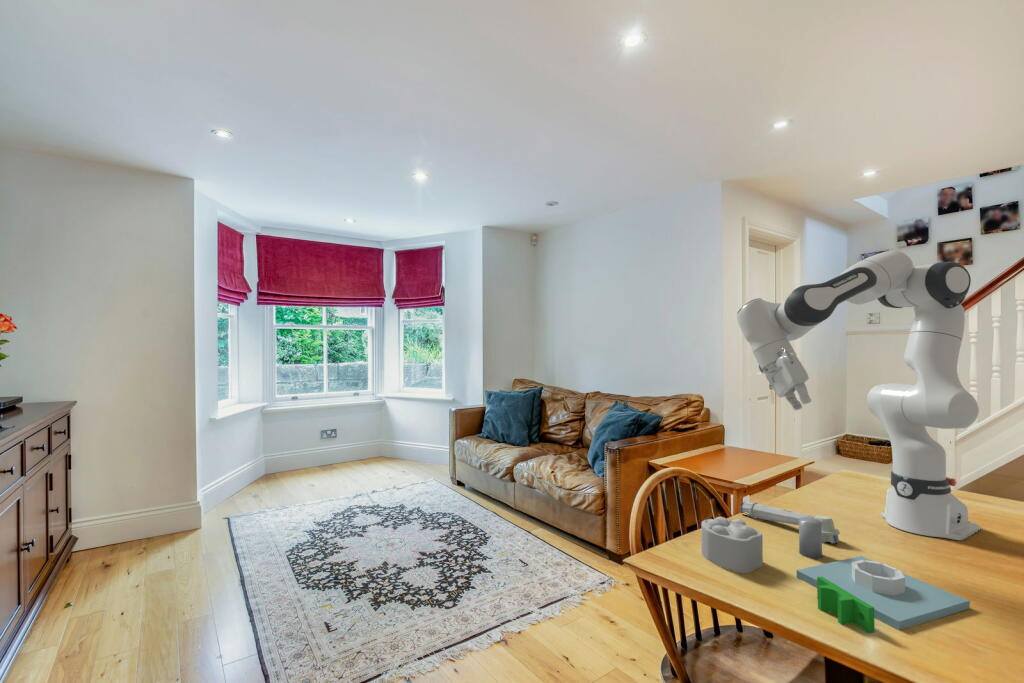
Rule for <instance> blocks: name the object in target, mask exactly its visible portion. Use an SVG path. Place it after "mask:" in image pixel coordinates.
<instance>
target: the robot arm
mask: <svg viewBox="0 0 1024 683" xmlns="http://www.w3.org/2000/svg"><path fill="white" fill-rule="evenodd" d="M971 281H972V279H971V274H970V272H969V271H968V269H967V268H966V267H965V266H964V265H962V264H961V263H959V262H955V261H938V262H935V263H931V264H930V263H929V264H928V263H927V264H921V265H917V266H914V264H913V261H912V259H911V257H910V256H908V254H906V253H904V252H902V251H899V250H886V251H884V252H879V253H876V254H873V255H871V256H869V257H866V258H864V259H861V260H860V261H858V262H856V263H854V264H852V265H851V266H849V267H848V268H846V269H845V270H843V271H842V272H841V273H840V274H839V275H838V276H836V277H833V278H831V279H829V280H827V281H825V282H821V283H812V284H804V285H801V286H799V287H796V288H795V289H794V290H792V292H791V293H790V294H789V295H788V297H787V298H786V299H785V300H784V301H783V302H781V303H778V302H770V301H766V300H764V299H763V298H762V297H756V298H753V299H752V300H750V301H748V302H747V303H745V304H744V305H742V307H740V309H739V310H738V311H737V313H736V319H737V322H738V326H739V328H740V330H741V333H742V334H743V337H744V338H745V340H746V341H747V343H748V344H749V345H750V346H751V351H752V353H753V356H754V358H755V360H756V362H757V364H758V369H759V371H760V373H761V374H763V375H765V378H766V379H767V381H768V383H769V385H770V386H771V388H772V390H773V391H774V392H775V394H776V395H777V397H778V398H785V399H786V401H787V402H788V403H789V404H790V405H791V407H792V409H793V410H794V411H799V410H801V409H803V405H807V404H810V403H811V402H812V399H811V396H810V395H809V391H808V389H807V386H806V384H805V383H806V382H807V381H808V380H809V379H810V377H809V373H808V372H807V370H806V368H805V367H804V366H803V364H802V362H801V361H800V359H799V357H798V356H797V352H796V351H795V349H794V347H793V346H792V344H791V342H790V341H795V340H799V339H800V338H802V337H804V336H805V335H806V334H808V333H809V332H810V331H811V330H812V329H814V328H816V326H818V325H819V324H821V323H822V322H824V321H825V320H828V319H829V317H831V316H832V314H833V313H834V311H835V310H836V308H837V306H838V305H840V304H842V303H844V302H846V301H847V302H848V303H851V304H853V305H854V304H855V305H864V304H867V303H871V302H873V301H875V300H877V301H879V303H880V304H881V305H882V306H884V307H886V308H891V309H892V308H893V309H902V308H903V309H904V308H913V309H914V310H913V311H914V314H915V316H914V318H913V321H912V324H911V326H910V331H909V334H908V338H907V341H906V345H905V350H904V353H903V361H904V363H905V364H906V366H908V368H909V369H911V370H913V371H915V374H916V378H917V382H916V384H913V383H912V384H911V383H901V382H891V383H890V382H889V383H882V384H877V385H875V386H872V387H871V389H870V390H869V391H868V393H867V397H866V404H867V408H868V410H869V411H870V412H871V413H872V414H873V415H874V416H875V417H876V418H877V419H878V420H879V422H881V424H882V425H883V427H884V429H885V431H886V434H887V435H888V437H889V442H890V445H891V455H892V470H891V471H890V478H889V479H890V485H891V487H888V488H887V491H886V500H885V510H884V511H882V512H881V513H880V516H881V517H882V518H884V519H885V523H886V524H888V525H890V526H892V527H893V528H896V529H899V530H901V531H905V532H908V533H910V534H911V533H912V534H916V535H920V536H926V537H935V538H943V539H950V540H955V541H963V540H965V539H967V538H969V537H971V536H972V535H974V534H976V533H977V532H979V531H981V530H980V529H981V525H979V524H977V523H975V522H973V521H970V520H969V511H968V510H969V509H968V507H967V505H966V504H965V503H963V502H962V501H961V500H960V499H959V498H957V497H956V496H955V495H954V494H953V493H952V489H951V487H956V485H957V480H956V479H955V478H953V477H948V476H947V464H946V463H947V453H946V451H945V448H944V447H943V446H942V445H941V444H940V443H939V442H938V441H936V440H935V439H934V438H933V437H931V436H930V434H929V432H928V431H927V429H926V427H928V428H929V427H930V428H935V429H941V430H943V429H944V430H948V429H949V430H950V429H952V430H953V429H956V430H957V429H966V428H968V427H970V426H972V425H973V424H974V423H975V421H976V420H977V418H978V417H979V414H980V413H979V411H980V410H979V409H980V408H979V404H978V402H977V400H976V398H975V397H974V396H973V395H972V394H971V393H970V392H968V391H967V390H966V389H965V388H964V386H963V384H962V383H961V380H960V378H959V373H958V362H959V355H960V351H961V346H962V341H963V338H964V331H965V322H966V320H965V317H966V316H965V313H966V312H965V308H964V306H963V305H962V303H963V301H965V299H966V296H967V295H968V292H969V290H970V286H971ZM795 392H796V393H797V394H798V396H799V400H798V398H797V397H796V394H795ZM978 530H979V531H978ZM975 532H976V533H975Z"/></svg>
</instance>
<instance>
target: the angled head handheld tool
mask: <svg viewBox="0 0 1024 683" xmlns="http://www.w3.org/2000/svg"><path fill="white" fill-rule="evenodd" d="M739 510H740V513H741V514H742V513H745V512H747V513H749V514H747V513H745V514H747V516H746V517H749V516H751V517H750V518H753V519H754V518H755V517H756V519H761V520H764V521H765V520H766V521H770V522H771V521H773V522H778V523H781V524H782V523H783V524H788V525H795V526H799V518H802V517H807V518H813V519H817V520H819V521H821V522H822V544H824V543H830V544H837V543H840V539H839V536H840V530H839V529H838V528H835V523H834V520H833V519H832V518H831V517H830V516H826V515H815V516H814V515H809V514H806V513H801V512H796V511H793V510H792V511H791V510H787V509H784V508H783V509H782V508H778V507H773V506H771V505H770V506H769V505H765V504H760V503H758V502H757V501H755V502H749V501H743V502H741V504H740V507H739ZM749 510H750V511H749Z"/></svg>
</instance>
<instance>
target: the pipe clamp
mask: <svg viewBox="0 0 1024 683" xmlns="http://www.w3.org/2000/svg"><path fill="white" fill-rule="evenodd" d="M816 590H817V591H816V592H817V593H816V597H817V610H820V611H821V612H822V611H824V612H829V613H832V614H835V615H837V623H839V624H840V625H841V626H842V625H849V624H850V625H851V624H854V625H856V626H858V627H859V628H860V629H862V630H864V631H865V632H866V633H868V634H872V633H873V634H874V633H875V617H874V607H872V606H871V605H869V604H867V603H866V602H864V601H862V600H861V599H859V598H857V597H856V596H854V595H852V594H851V593H849V592H847V591H845V590H844V589H842V588H840V587H839V586H837V585H835V584H834V583H832V582H830V581H829V580H827V579H825V578H824V577H817V587H816Z"/></svg>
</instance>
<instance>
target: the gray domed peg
mask: <svg viewBox="0 0 1024 683" xmlns="http://www.w3.org/2000/svg"><path fill="white" fill-rule="evenodd" d="M798 534H799V535H798V543H799V544H798V545H799V546H798V550H799V551H798V552H799V555H801V556H802V557H805V558H808V559H815V560H818V559H822V558H823V542H822V522H821V521H819V520H817V519H813V518H807V517H802V518H799V525H798Z"/></svg>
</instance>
